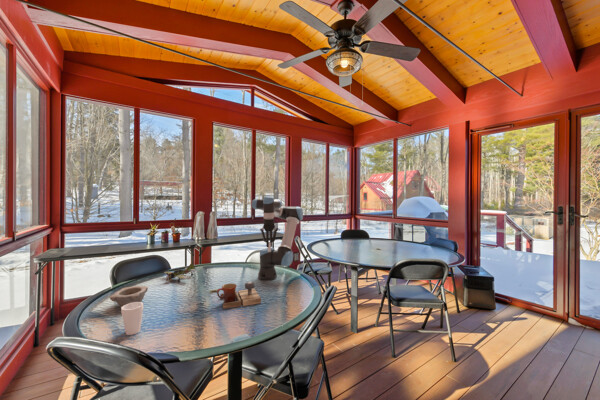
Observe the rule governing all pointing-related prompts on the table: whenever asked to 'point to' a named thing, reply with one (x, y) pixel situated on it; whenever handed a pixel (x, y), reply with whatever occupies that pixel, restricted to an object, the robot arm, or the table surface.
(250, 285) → the wheel
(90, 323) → the table surface
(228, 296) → the mug
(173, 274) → the toy airplane
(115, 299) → the mortar
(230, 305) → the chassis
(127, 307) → the foam cup
